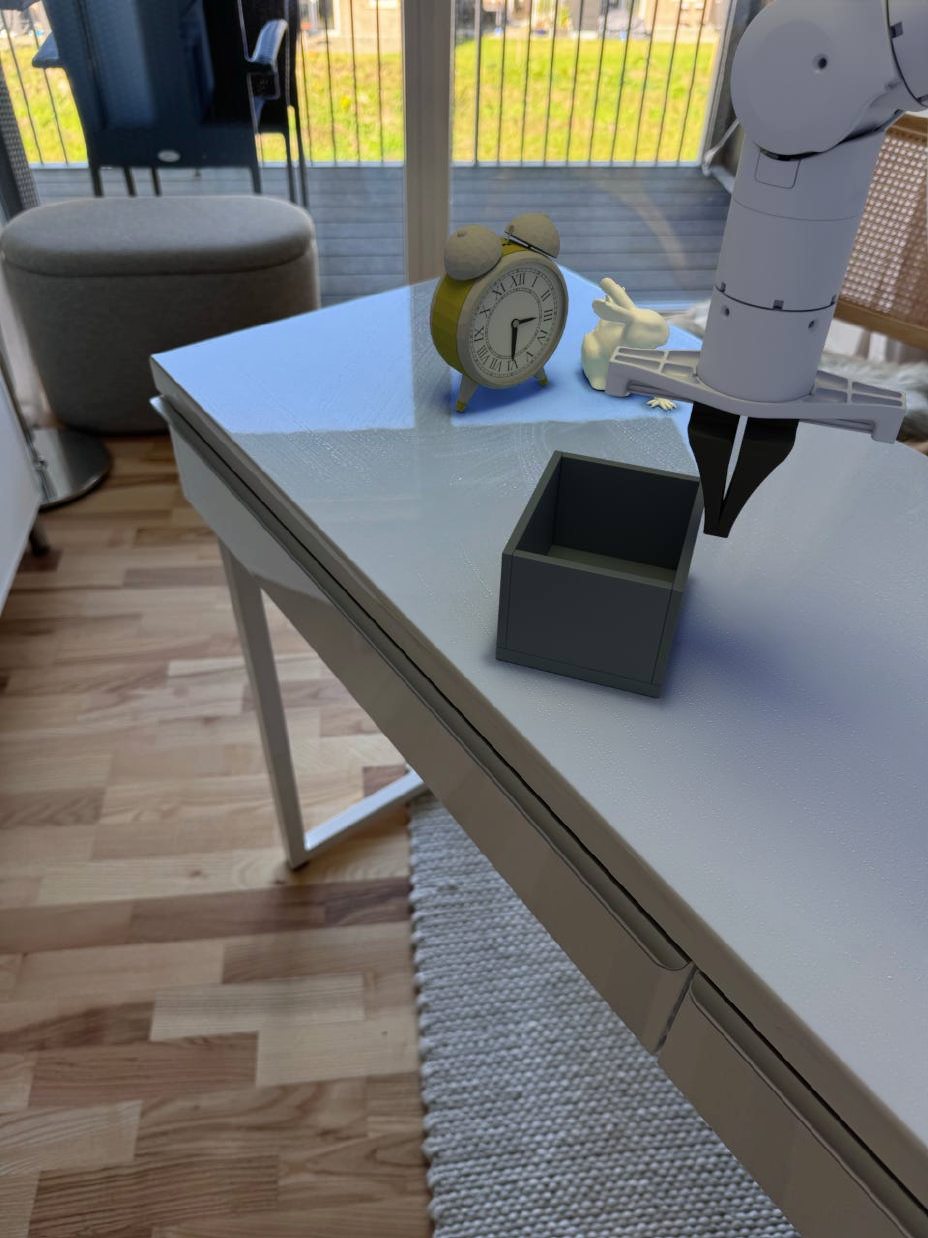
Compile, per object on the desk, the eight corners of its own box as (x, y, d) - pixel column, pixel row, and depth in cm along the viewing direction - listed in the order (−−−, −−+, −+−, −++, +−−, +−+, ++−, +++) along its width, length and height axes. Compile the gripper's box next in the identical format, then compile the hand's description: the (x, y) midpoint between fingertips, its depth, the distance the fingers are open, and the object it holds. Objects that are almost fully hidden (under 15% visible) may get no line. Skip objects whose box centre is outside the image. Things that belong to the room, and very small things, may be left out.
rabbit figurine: (677, 410, 81) (698, 302, 75) (599, 421, 79) (614, 311, 73) (619, 354, 90) (633, 253, 83) (547, 362, 88) (557, 260, 81)
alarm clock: (460, 422, 78) (464, 241, 69) (415, 391, 82) (414, 217, 73) (563, 388, 84) (581, 216, 74) (517, 361, 88) (528, 195, 78)
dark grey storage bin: (710, 478, 57) (554, 449, 59) (683, 591, 48) (501, 552, 51) (687, 579, 62) (544, 549, 64) (658, 698, 53) (495, 658, 56)
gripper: (934, 281, 45) (851, 515, 53) (639, 242, 48) (606, 468, 57) (943, 337, 39) (849, 585, 48) (611, 288, 43) (580, 529, 52)
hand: (717, 526), depth 52 cm, fingers closed
